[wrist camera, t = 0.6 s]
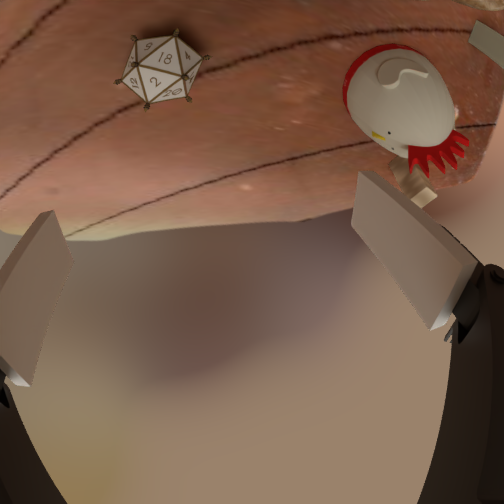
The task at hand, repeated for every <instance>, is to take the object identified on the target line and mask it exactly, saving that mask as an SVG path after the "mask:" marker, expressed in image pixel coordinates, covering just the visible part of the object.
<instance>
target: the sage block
mask: <svg viewBox="0 0 504 504" xmlns="http://www.w3.org/2000/svg"><path fill="white" fill-rule="evenodd" d="M468 42H469V43H471V44H472V45H473V46H475V47H476V48H478V49H479V50H480V51H482V52H483V53H484V54H486V55H487V56H488V57H490V58H491V59H492V60H493V61H495V62H496V63H497V64H498V65H499V66H501V67H502V68H503V69H504V37H503V36H502V35H500V34H499V33H497V32H496V31H494V30H493V29H491V28H489V27H488V26H486V25H485V24H483V23H481V22H480V21H478V20H476V23H475V25H474V28H473V30H472V33H471V35H470V38H469V40H468Z"/></svg>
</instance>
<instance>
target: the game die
mask: <svg viewBox="0 0 504 504" xmlns="http://www.w3.org/2000/svg"><path fill="white" fill-rule="evenodd" d="M179 33H180V31H179V28H178V29H176V30H174V32H173V35H168V36H159V37H151V38H145V39H137V37H136V35H135V36H134V35H131V39H132V41H135V43H134V45H133V48H132V50H131V53H130V56H129V58H128V61H127V64H126V66H125V69H124V72H123V75H122V78H121V79H118V80H116V81H115V82H114V83H113V84H117V85H118V84H120V83H121V82H123V83H124V84H125V85H126V86H127V87H128V88H130V89H131V90H132V91H133V92H134V93H135V94H137V95H138V96H139V97H140V98H141V99H142V100H143V101H145V102H146V105H145V107H144V110H145V112H146V111H147V110H148V109H149V107H150V104H152V103H157V102H162V101H167V100H173V99H179V98H186V100H187V102H191V103H192V98H190V97H189V96H188V94H189V91H190V89H191V86H192V84H193V82H194V79H195V77H196V75H197V72H198V70H199V68H200V66H201V63H202V61H203V60H207V59H208V60H209V59H210V58H211V57H212V56H209V55H205V56H204V57H202V56H201V55H200V54H199V53H197V52H196V51H195V50H194V49H193V48H191V47H190V46H189V45H188V44H186V43H185V42H184V41H183V40H181V39H180V38H179V37H178V36H179Z"/></svg>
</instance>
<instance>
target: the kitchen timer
mask: <svg viewBox="0 0 504 504" xmlns="http://www.w3.org/2000/svg"><path fill="white" fill-rule="evenodd" d="M343 101H344V103H345V106H346V108H347V111H348V113H349V114H350V116H351V118H352V119H353V120H354V121H355V123H356V124H357V125H358V126H359V127H360V128H361V130H362V131H363V132H364V133H365V134H367V135H368V136H369V137H370V138H372V139H373V140H374V141H375V142H377V143H378V144H380V145H381V146H383V147H384V148H386V149H387V150H389V151H391V152H393V153H395V154H397V155H398V156H400V157H403V158H408V164H409V171H410V174H411V173H412V170H413V166H414V165H415V164H418V165H419V166H420V167H421V169H422V171H423V172H424V174H425V175H426V177H427V178H429V168H428V163H427V161H428V160H430V161H432V162H433V163H434V164H435V165H436V166H437V167H438V168H439V169H440V171H442V172H443V173H444V174H445V165H444V163H443V161H442V159H441V157H443V158H444V159H445V160H446V161H447V162H448V163H449V164H450V165H451V166H452V167H453V168H454V169H455V170H457V161H456V159H455V157H454V155H453V153H455V154H456V155H458V156H460V157H462V158H464V150H463V149H462V148H461V147H460V146H459V145H458V144H456V143H455V142H459V143H461V144H463V145H465V146H468V147H469V140H468V139H467V138H466V137H465V136H463V135H462V134H460V133H459V132H457V131H455V130H454V128H455V112H454V105H453V102H452V99H451V96H450V94H449V91H448V89H447V87H446V85H445V83H444V81H443V79H442V77H441V75H440V74H439V72H438V71H437V69H436V68H435V67H434V66H433V65H432V64H431V63H430V62H429V61H428V60H427V59H426V58H425V57H424V56H423V55H422V54H420V53H419V52H418V51H416V50H414V49H412V48H410V47H408V46H404V45H398V44H387V45H381V46H377V47H375V48H373V49H371V50H368V51H366V52H365V53H363V54H362V55H361V56H360V57H359V58H358V59H357V60H355V61H354V62H353V64H352V66H351V67H350V69H349V70H348V72H347V74H346V77H345V80H344V84H343Z"/></svg>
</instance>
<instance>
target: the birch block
mask: <svg viewBox="0 0 504 504" xmlns="http://www.w3.org/2000/svg"><path fill="white" fill-rule="evenodd" d="M389 166H390V168H391V170H392V172H393V174H394V176H395V178H396V180H397V182H398V184H399V186H400V188H401V190H402V192H403V194H404V195H405V196H407V197H408V198H409V199H410V200H411V201H413V202H414V203H415V204H416V205H417V206H419V207H420V208H422V207H424V206H425V205H426V204H428V203H429V202H430V201H432V200H433V199H434V198H436V197H437V196H438V195H437V194H436V192H435V190H434V188H433V186H432V184H431V182H430V181H429V179H428V178H427V177H426V175H425V174H424V172H423V171H422V169H421V167H420V166H419V165H418V164H415V165H414V166H413V170H412V173H411V174H410V171H409V164H408V158H403V157H400V156H397V157H396V158H395V159H393V160H392V161H391V162H390V163H389Z"/></svg>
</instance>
